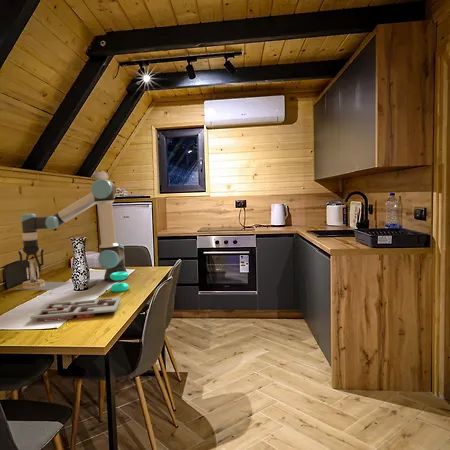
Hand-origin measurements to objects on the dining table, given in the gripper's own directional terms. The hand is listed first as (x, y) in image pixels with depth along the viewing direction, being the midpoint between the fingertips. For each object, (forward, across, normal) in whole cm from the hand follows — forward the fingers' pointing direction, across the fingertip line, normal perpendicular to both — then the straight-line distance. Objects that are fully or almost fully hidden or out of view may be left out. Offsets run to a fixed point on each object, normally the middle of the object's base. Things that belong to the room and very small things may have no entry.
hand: (33, 277), depth 205 cm
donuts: (+7, -43, +36) cm, 56 cm away
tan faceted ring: (+5, 0, 0) cm, 5 cm away
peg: (+5, 0, 0) cm, 5 cm away
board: (+7, -5, +2) cm, 9 cm away
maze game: (+7, -18, +65) cm, 68 cm away
